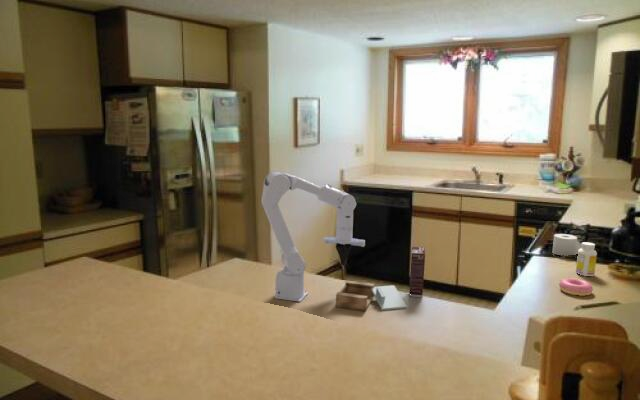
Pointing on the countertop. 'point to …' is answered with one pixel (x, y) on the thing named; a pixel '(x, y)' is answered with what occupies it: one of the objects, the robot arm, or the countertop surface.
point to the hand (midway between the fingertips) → (343, 264)
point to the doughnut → (576, 286)
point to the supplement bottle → (586, 259)
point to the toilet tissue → (565, 245)
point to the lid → (388, 297)
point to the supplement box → (417, 272)
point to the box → (355, 296)
